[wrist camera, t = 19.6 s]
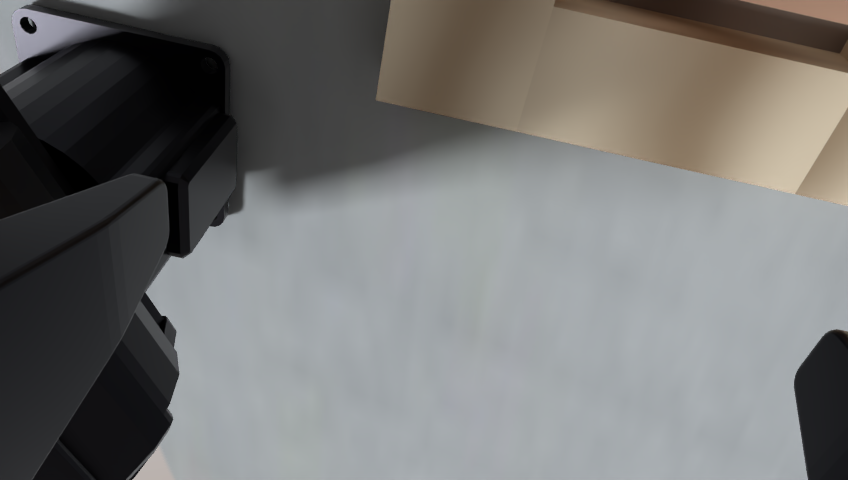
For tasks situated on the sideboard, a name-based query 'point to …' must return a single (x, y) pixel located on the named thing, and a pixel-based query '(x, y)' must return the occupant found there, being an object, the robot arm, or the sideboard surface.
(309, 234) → the sideboard surface
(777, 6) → the block
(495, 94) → the puzzle board
